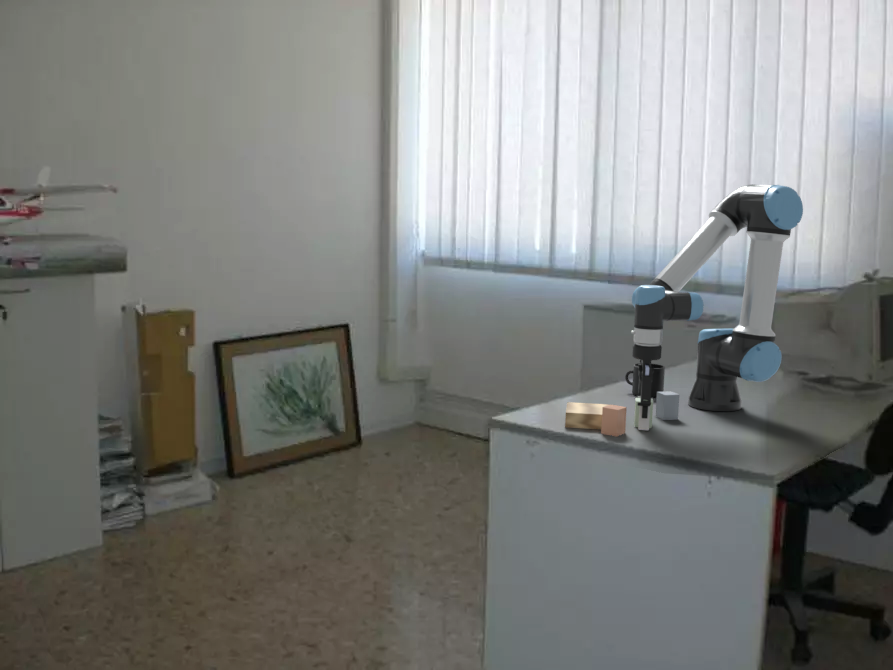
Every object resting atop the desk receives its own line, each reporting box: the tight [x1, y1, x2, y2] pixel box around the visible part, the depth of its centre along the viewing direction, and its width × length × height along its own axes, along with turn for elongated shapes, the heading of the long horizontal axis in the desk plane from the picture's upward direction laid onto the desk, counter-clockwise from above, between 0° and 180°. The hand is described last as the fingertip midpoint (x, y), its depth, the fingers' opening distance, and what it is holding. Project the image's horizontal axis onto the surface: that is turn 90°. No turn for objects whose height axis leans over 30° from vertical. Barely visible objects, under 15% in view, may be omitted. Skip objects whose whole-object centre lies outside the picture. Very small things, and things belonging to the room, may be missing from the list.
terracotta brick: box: [600, 404, 627, 437], centre depth 265 cm, size 4×4×7 cm
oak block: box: [564, 401, 610, 430], centre depth 276 cm, size 13×13×4 cm
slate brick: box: [655, 390, 680, 421], centre depth 284 cm, size 4×4×7 cm
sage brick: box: [633, 397, 654, 429], centre depth 275 cm, size 4×4×7 cm
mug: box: [624, 362, 666, 399], centre depth 315 cm, size 9×12×9 cm
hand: (642, 424), depth 275 cm, fingers open, 11 cm apart
